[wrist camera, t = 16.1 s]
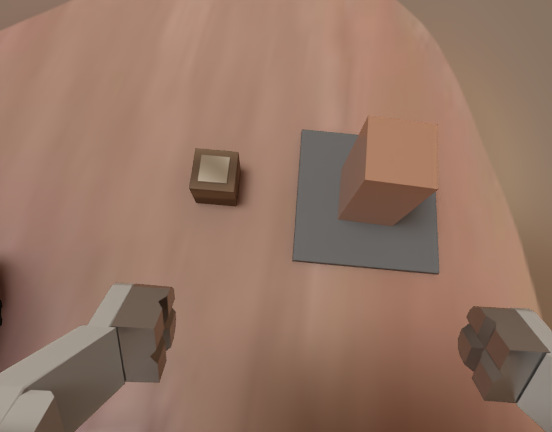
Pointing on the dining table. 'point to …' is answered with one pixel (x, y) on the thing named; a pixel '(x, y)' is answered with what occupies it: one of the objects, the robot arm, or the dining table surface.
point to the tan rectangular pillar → (388, 171)
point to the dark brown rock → (0, 313)
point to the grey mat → (349, 234)
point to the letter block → (215, 177)
